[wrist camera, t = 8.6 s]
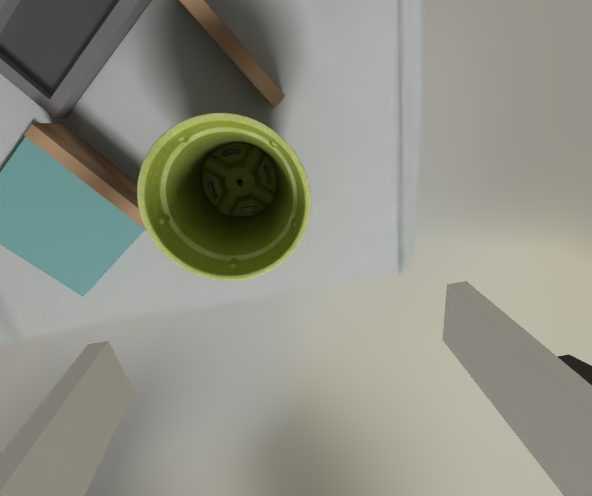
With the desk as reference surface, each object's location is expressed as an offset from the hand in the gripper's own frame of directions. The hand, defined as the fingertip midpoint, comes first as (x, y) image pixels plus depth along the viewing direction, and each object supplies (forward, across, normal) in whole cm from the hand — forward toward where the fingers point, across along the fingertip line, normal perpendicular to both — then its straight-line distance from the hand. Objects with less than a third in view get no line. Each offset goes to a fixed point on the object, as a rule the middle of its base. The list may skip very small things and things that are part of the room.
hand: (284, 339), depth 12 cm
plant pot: (+16, -2, +4) cm, 16 cm away
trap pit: (+16, -11, +16) cm, 25 cm away
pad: (+16, -17, +3) cm, 23 cm away
